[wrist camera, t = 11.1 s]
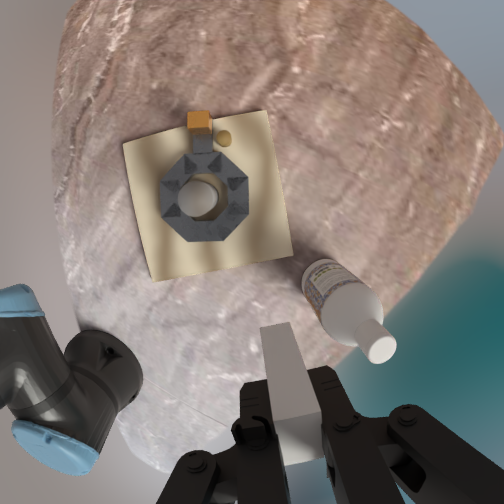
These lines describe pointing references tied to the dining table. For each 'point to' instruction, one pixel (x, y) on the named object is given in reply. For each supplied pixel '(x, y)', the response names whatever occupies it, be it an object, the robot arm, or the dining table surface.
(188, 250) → the post base
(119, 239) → the dining table surface
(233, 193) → the flange
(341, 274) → the bath foam
